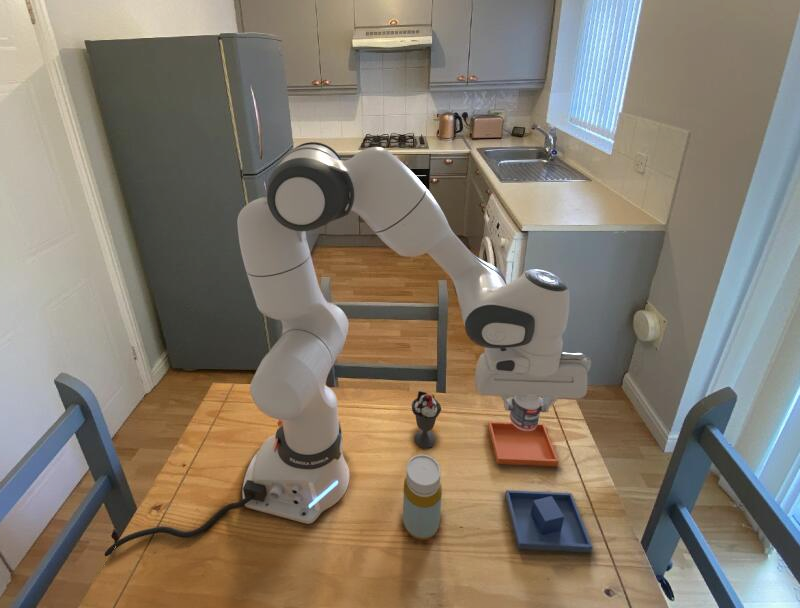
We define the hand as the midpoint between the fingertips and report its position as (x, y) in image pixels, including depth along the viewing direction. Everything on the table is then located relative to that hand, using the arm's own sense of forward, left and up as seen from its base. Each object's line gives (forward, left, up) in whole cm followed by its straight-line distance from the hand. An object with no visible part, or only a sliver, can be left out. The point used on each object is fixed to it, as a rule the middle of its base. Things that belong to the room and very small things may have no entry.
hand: (525, 408), depth 83 cm
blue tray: (+4, -9, -19) cm, 22 cm away
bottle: (-20, -10, -20) cm, 30 cm away
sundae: (-18, +9, -20) cm, 28 cm away
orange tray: (+4, +8, -19) cm, 21 cm away
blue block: (+4, -9, -19) cm, 21 cm away
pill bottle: (0, 0, -3) cm, 3 cm away
